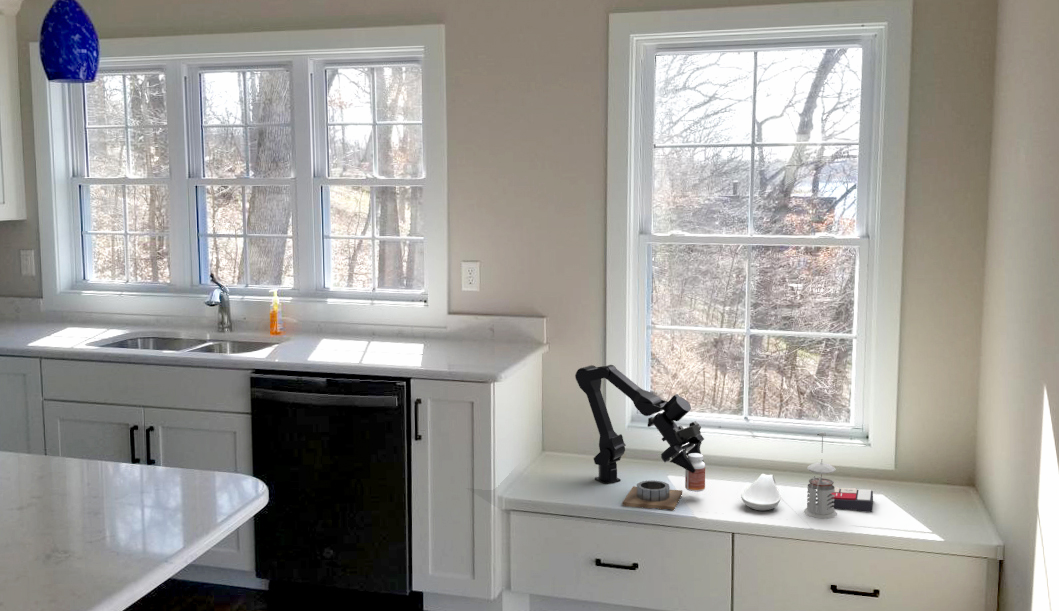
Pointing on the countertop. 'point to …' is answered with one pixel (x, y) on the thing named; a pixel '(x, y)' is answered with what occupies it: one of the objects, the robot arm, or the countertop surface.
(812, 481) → the french press
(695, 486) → the pill bottle
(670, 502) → the socket plate
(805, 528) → the countertop surface
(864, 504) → the black box
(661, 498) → the collar
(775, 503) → the spoon rest
